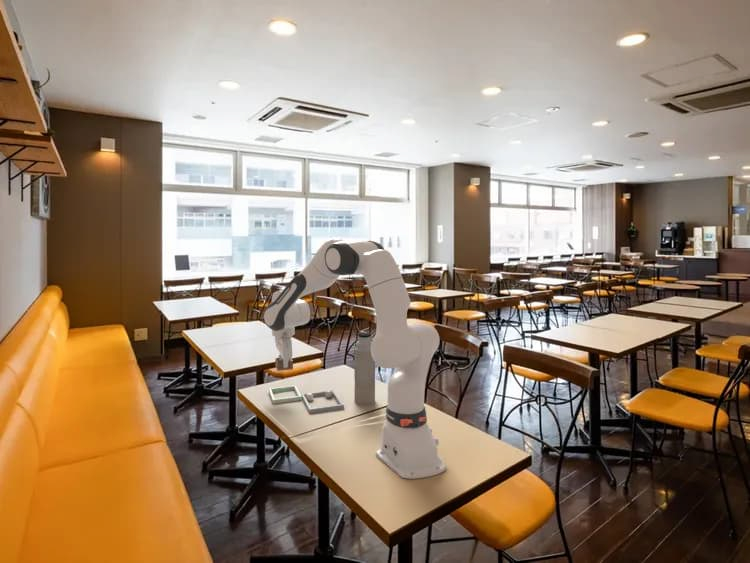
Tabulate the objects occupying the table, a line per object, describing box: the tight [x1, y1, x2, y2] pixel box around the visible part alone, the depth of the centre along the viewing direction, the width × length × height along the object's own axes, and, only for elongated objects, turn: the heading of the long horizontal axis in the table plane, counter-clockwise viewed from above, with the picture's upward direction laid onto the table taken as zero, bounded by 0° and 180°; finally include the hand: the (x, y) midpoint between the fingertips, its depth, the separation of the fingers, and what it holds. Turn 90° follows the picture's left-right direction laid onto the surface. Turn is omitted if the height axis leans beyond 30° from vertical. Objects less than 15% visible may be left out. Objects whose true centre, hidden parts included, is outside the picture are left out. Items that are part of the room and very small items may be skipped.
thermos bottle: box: [353, 332, 376, 406], centre depth 171 cm, size 8×8×28 cm
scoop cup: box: [274, 357, 294, 372], centre depth 176 cm, size 6×6×4 cm
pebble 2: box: [324, 390, 333, 399], centre depth 176 cm, size 3×3×3 cm
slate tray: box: [300, 389, 345, 414], centre depth 171 cm, size 16×13×2 cm
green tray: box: [268, 385, 302, 404], centre depth 178 cm, size 13×11×2 cm
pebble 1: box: [306, 392, 314, 402], centre depth 173 cm, size 3×3×3 cm
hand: (284, 364), depth 176 cm, fingers closed on scoop cup, 6 cm apart
